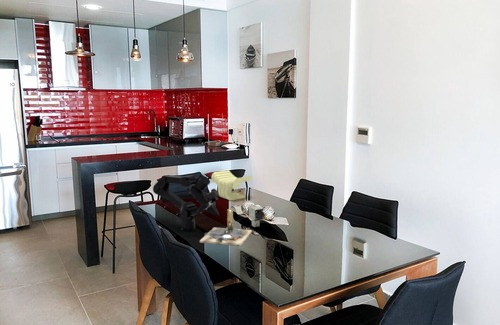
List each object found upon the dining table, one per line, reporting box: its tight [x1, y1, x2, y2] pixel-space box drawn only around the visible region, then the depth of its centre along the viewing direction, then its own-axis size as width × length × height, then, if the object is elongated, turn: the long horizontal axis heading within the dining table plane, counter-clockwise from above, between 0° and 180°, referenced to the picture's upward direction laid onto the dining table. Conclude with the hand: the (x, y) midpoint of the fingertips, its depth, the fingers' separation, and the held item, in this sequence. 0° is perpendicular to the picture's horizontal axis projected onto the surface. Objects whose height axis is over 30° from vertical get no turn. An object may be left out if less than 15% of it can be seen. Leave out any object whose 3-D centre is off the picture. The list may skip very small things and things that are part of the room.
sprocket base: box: [199, 227, 253, 247], centre depth 213 cm, size 22×22×3 cm
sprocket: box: [209, 208, 245, 241], centre depth 212 cm, size 18×18×12 cm
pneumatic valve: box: [247, 205, 265, 228], centre depth 231 cm, size 6×12×12 cm, turn 27°
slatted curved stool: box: [211, 170, 253, 201], centre depth 298 cm, size 30×16×18 cm, turn 36°
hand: (218, 215), depth 218 cm, fingers closed
